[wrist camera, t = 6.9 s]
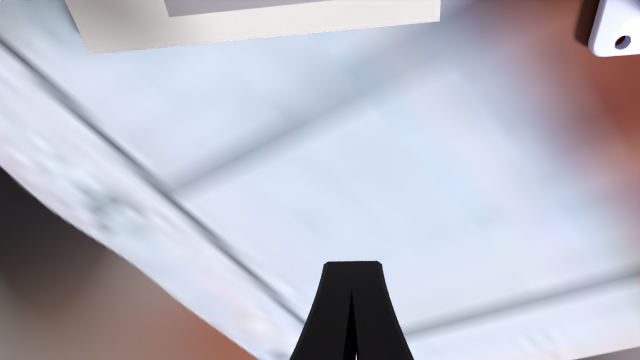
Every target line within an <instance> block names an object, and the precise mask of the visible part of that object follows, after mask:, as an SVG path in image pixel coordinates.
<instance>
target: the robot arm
mask: <svg viewBox="0 0 640 360" xmlns="http://www.w3.org/2000/svg"><path fill="white" fill-rule="evenodd" d="M624 35H626V36H625V39H624V41H623V42H622V43H621V44H620V45H617V46H615V42H616V40H617V39H618V38H620V37H621V36H624ZM588 47H589V49H590V51H591V52H592V53H593V54H595V55H596V56H599V57H608V56H620V55H632V54H640V0H600V2H599V6H598V9H597V13H596V17H595V20H594V24H593V27H592V31H591V35H590V38H589V42H588ZM356 354H357V360H414V358H413V356H412V354H411V352H410V349H409V347H408V345H407V342H406V340H405V337H404V335H403V332H402V330H401V327H400V325H399V322H398V320H397V317H396V314H395V312H394V309H393V306H392V303H391V300H390V297H389V293H388V290H387V286H386V283H385V278H384V274H383V268H382V264H381V263H380V262H378V261H338V262H327V263H325V264H324V266H323V271H322V275H321V279H320V283H319V286H318V290H317V293H316V296H315V299H314V302H313V304H312V307H311V310H310V313H309V315H308V318H307V320H306V323H305V325H304V328H303V330H302V333H301V335H300V337H299V340H298V342H297V345H296V347H295V349H294V351H293V353H292V355H291V357H290V360H356Z"/></svg>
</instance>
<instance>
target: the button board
mask: <svg viewBox="0 0 640 360" xmlns="http://www.w3.org/2000/svg"><path fill="white" fill-rule="evenodd" d="M65 2H66V4H67V6H68V9H69V11H70V13H71V15H72V17H73V19H74V22H75V24H76V26H77V28H78V30H79V32H80V34H81V37H82V39H83V41H84V43H85V45H86V47H87V50H88V52H89V54H99V53H110V52H120V51H131V50H141V49H152V48H162V47H173V46H183V45H194V44H204V43H215V42H225V41H236V40H246V39H257V38H267V37H278V36H289V35H299V34H310V33H320V32H331V31H341V30H352V29H362V28H373V27H383V26H394V25H404V24H415V23H425V22H436V21H439V19H440V2H441V0H65Z"/></svg>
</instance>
